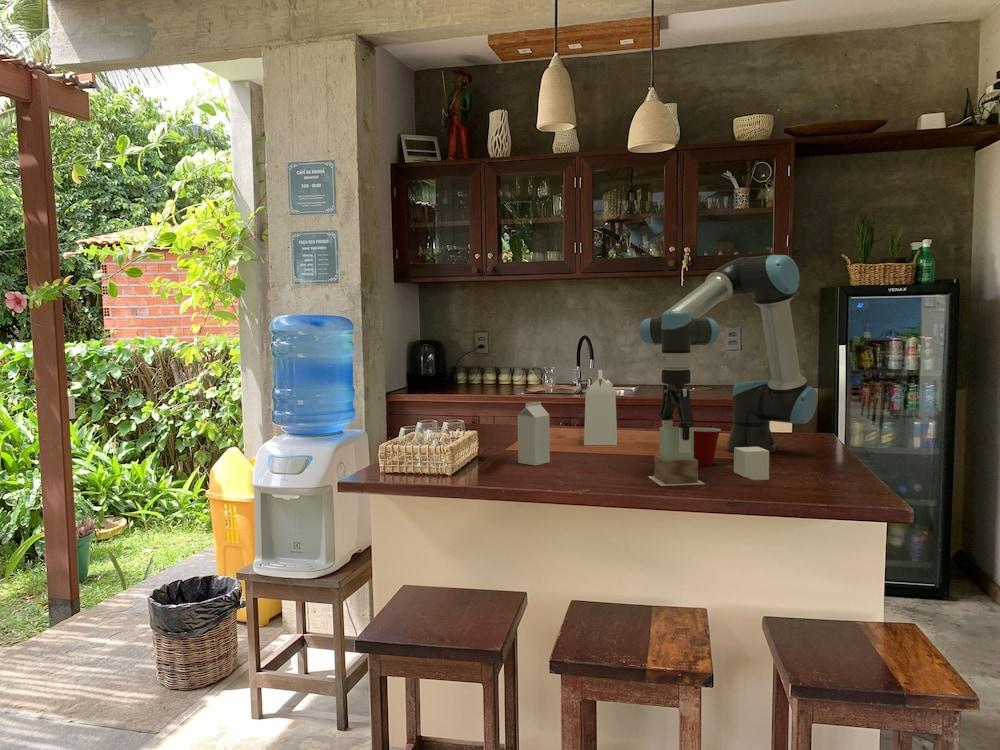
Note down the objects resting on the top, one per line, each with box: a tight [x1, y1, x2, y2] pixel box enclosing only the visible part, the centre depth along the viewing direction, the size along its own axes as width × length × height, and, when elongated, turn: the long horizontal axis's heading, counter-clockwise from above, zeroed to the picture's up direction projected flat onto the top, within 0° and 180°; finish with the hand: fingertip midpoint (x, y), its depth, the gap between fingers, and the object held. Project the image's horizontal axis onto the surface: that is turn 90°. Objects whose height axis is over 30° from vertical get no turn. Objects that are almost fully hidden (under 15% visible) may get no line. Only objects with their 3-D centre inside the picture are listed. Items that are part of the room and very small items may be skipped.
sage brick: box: [659, 425, 694, 461], centre depth 206 cm, size 7×7×8 cm
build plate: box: [647, 475, 706, 487], centre depth 206 cm, size 12×12×1 cm
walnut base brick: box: [653, 454, 699, 484], centre depth 206 cm, size 9×9×6 cm
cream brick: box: [733, 447, 770, 481], centre depth 213 cm, size 7×7×8 cm
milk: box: [583, 369, 618, 446], centre depth 272 cm, size 12×12×26 cm
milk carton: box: [517, 401, 551, 466], centre depth 238 cm, size 7×7×19 cm
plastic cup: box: [690, 427, 722, 467], centre depth 227 cm, size 11×11×12 cm
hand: (675, 448), depth 206 cm, fingers open, 13 cm apart
